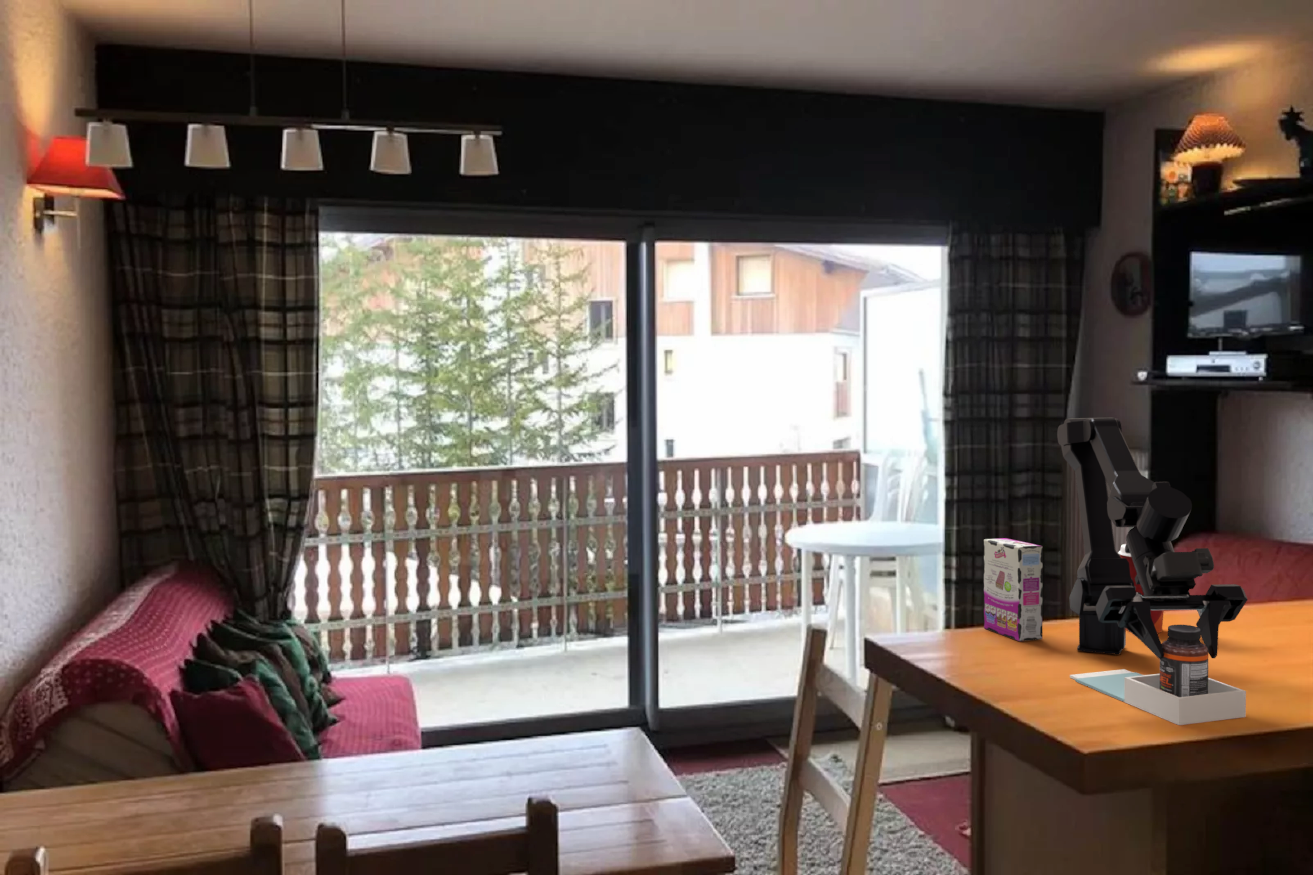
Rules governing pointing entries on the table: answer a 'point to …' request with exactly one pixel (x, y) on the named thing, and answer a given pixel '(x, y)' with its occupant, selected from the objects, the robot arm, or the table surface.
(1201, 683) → the supplement bottle
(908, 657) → the table surface
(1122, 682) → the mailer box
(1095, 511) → the robot arm
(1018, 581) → the candy bar box
